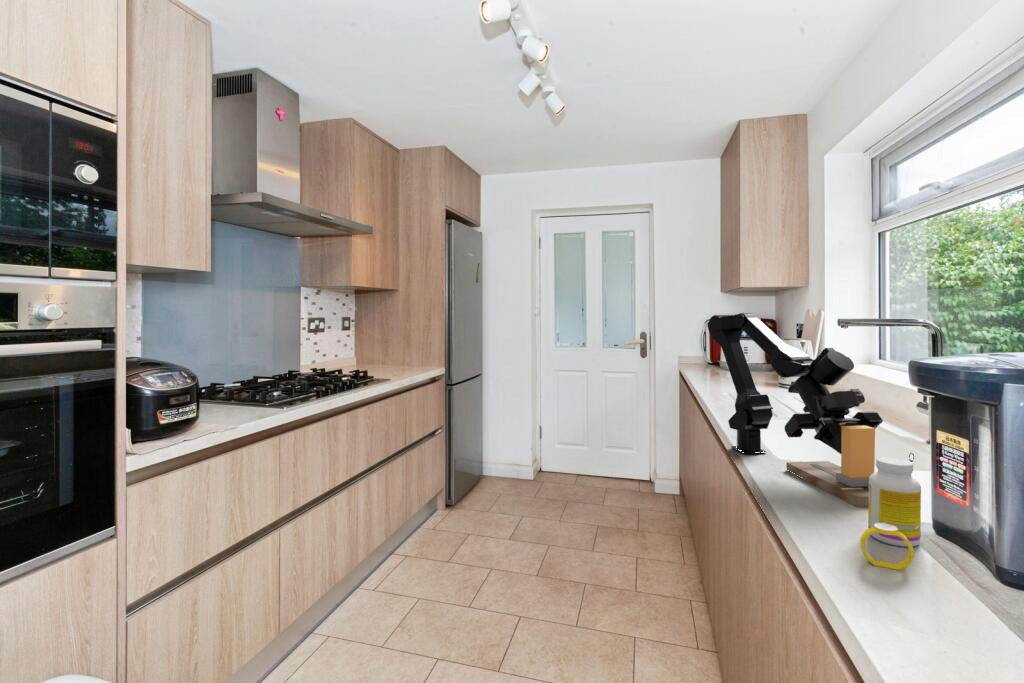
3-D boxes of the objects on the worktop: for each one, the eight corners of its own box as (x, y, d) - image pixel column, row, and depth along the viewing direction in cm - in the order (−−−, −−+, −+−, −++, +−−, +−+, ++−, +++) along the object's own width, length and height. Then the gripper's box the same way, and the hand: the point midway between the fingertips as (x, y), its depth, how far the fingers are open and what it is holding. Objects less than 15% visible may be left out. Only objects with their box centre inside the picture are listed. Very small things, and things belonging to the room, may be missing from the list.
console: (786, 470, 112) (786, 461, 112) (827, 469, 113) (827, 460, 113) (856, 506, 90) (857, 496, 90) (907, 505, 91) (908, 494, 91)
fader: (836, 480, 99) (836, 425, 98) (864, 479, 99) (864, 424, 98) (850, 486, 95) (851, 429, 94) (879, 485, 95) (880, 429, 94)
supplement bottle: (931, 548, 74) (933, 467, 73) (888, 549, 74) (889, 467, 74) (897, 529, 81) (899, 455, 80) (858, 530, 81) (859, 455, 80)
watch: (863, 567, 69) (860, 527, 69) (860, 559, 72) (857, 520, 72) (916, 575, 66) (912, 532, 66) (911, 566, 69) (908, 525, 69)
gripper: (792, 376, 103) (828, 440, 92) (876, 374, 103) (921, 437, 93) (771, 406, 111) (801, 467, 100) (849, 404, 111) (887, 465, 101)
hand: (852, 459), depth 98 cm, fingers closed, pressing on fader
